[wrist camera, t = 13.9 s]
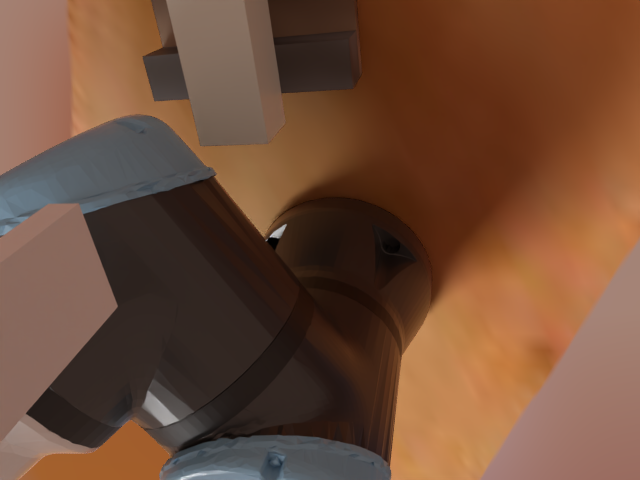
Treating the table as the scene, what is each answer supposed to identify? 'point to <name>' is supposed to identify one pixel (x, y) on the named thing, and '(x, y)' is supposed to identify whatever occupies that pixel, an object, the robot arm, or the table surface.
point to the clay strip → (229, 69)
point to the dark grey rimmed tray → (279, 48)
